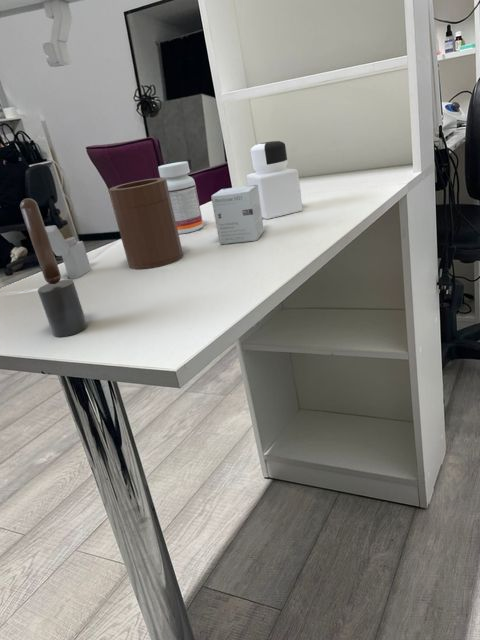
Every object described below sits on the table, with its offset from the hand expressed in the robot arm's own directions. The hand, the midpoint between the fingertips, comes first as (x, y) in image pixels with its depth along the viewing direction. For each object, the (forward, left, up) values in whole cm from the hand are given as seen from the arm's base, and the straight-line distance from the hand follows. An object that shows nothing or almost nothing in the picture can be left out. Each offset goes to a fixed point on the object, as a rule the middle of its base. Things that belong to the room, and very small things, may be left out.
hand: (12, 75), depth 49 cm
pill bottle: (+1, +42, -25) cm, 49 cm away
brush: (-1, -2, -24) cm, 24 cm away
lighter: (-11, +19, -25) cm, 33 cm away
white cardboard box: (+13, +30, -25) cm, 41 cm away
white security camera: (+17, +46, -25) cm, 55 cm away
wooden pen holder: (+1, +23, -24) cm, 33 cm away
